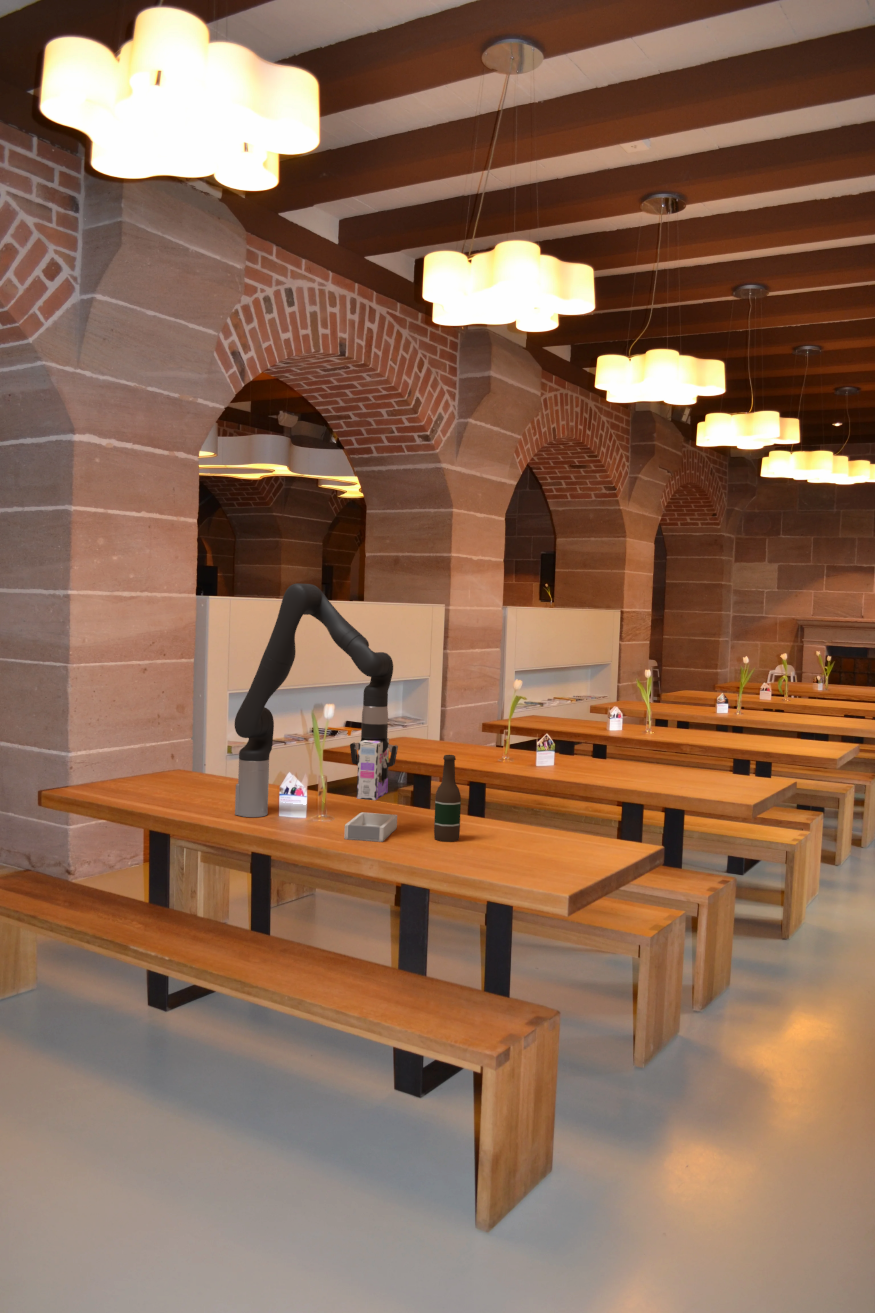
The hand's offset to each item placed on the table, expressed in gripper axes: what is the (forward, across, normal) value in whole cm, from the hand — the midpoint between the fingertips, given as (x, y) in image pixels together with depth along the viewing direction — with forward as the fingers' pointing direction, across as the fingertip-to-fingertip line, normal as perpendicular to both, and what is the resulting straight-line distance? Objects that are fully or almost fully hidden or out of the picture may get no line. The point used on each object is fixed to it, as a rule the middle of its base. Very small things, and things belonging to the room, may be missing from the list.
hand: (372, 779), depth 285 cm
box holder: (+16, 0, 0) cm, 16 cm away
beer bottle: (+16, +22, 0) cm, 27 cm away
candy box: (+5, 0, 0) cm, 5 cm away
